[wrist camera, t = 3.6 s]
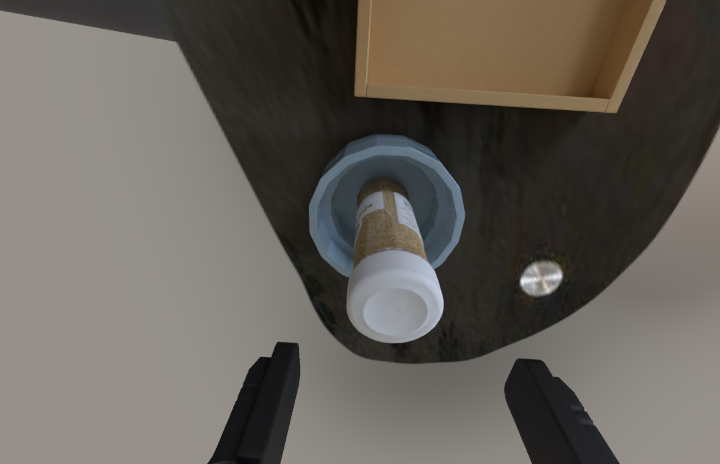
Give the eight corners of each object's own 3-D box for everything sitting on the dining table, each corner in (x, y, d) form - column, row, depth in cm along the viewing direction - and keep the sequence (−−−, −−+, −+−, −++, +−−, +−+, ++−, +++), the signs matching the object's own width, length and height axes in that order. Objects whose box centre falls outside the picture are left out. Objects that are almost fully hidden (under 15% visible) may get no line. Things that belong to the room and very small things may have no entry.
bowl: (320, 249, 28) (311, 280, 24) (318, 128, 23) (306, 141, 18) (434, 256, 28) (446, 289, 24) (460, 137, 23) (481, 152, 18)
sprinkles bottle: (353, 178, 24) (337, 277, 12) (408, 172, 24) (446, 268, 12) (360, 227, 26) (352, 350, 14) (410, 221, 26) (445, 344, 14)
